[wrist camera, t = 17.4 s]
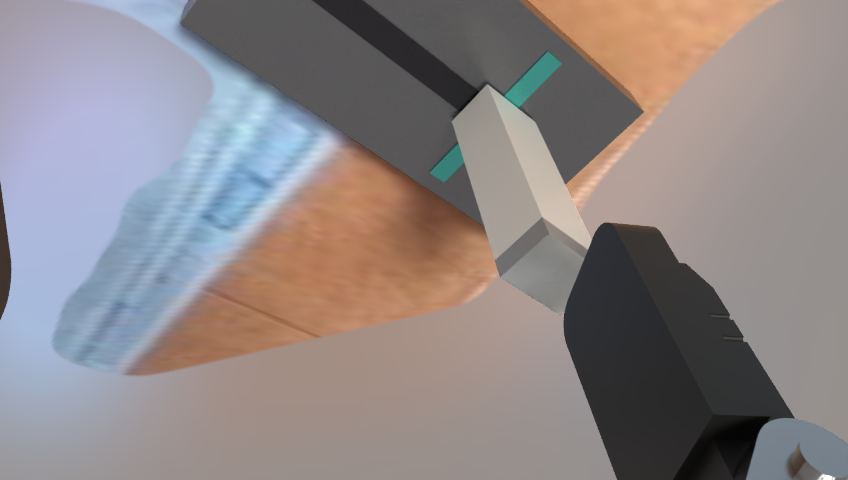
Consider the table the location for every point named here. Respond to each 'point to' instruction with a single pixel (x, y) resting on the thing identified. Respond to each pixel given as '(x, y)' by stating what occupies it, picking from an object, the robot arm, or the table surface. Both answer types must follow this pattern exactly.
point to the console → (423, 75)
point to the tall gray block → (521, 199)
